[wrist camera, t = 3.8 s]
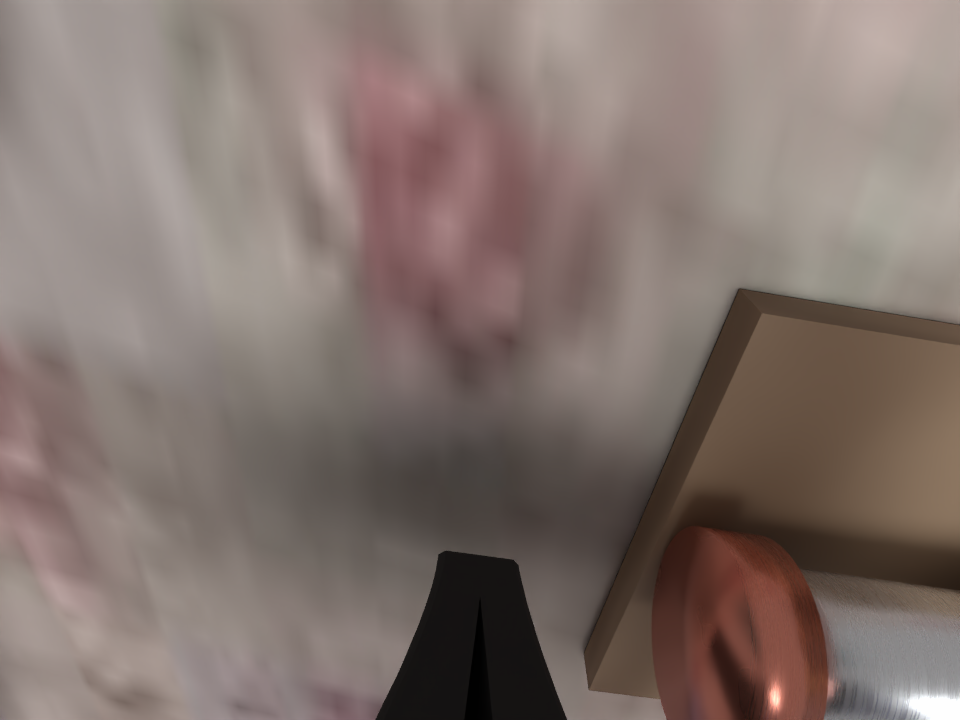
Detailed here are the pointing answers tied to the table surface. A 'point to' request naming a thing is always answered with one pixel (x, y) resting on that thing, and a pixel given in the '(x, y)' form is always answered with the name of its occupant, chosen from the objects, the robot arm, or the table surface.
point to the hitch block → (803, 460)
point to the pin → (796, 637)
